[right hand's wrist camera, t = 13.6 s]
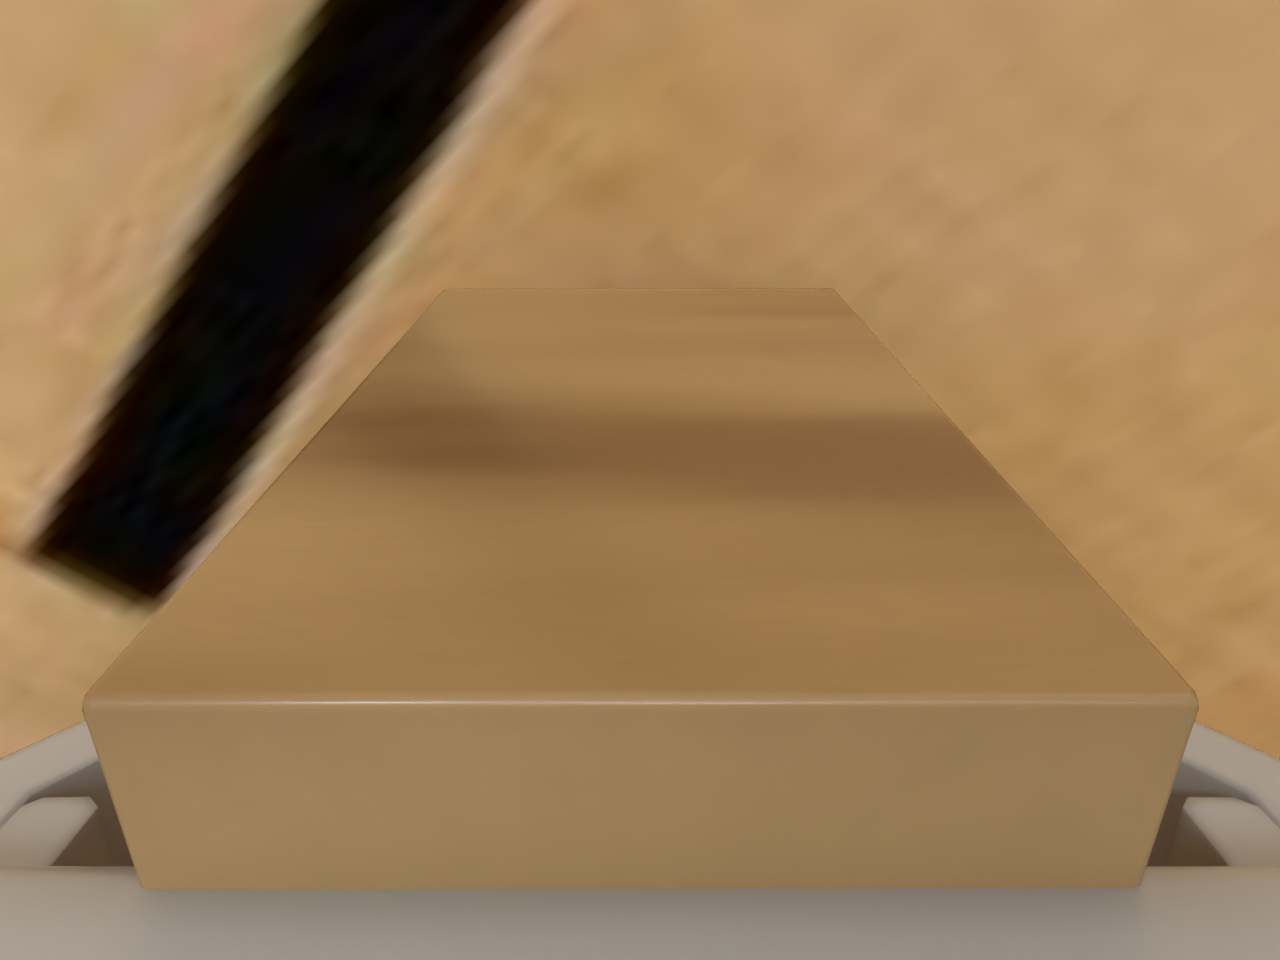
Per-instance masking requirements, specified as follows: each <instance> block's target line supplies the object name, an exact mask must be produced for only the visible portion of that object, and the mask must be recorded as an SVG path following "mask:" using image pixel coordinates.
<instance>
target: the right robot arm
mask: <svg viewBox="0 0 1280 960" xmlns="http://www.w3.org/2000/svg"><path fill="white" fill-rule="evenodd" d="M0 960H1280V759H1278V758H1276V757H1273V756H1271V755H1269V754H1267V753H1265V752H1263V751H1260V750H1258V749H1256V748H1254V747H1252V746H1249V745H1247V744H1245V743H1243V742H1241V741H1239V740H1236V739H1234V738H1232V737H1230V736H1228V735H1225V734H1223V733H1221V732H1219V731H1217V730H1215V729H1212V728H1210V727H1208V726H1206V725H1204V724H1201V723H1199V722H1197V721H1194V724H1193V727H1192V730H1191V733H1190V736H1189V739H1188V742H1187V745H1186V748H1185V751H1184V754H1183V757H1182V760H1181V763H1180V766H1179V769H1178V773H1177V776H1176V779H1175V782H1174V785H1173V788H1172V791H1171V794H1170V797H1169V800H1168V803H1167V806H1166V809H1165V812H1164V815H1163V818H1162V821H1161V824H1160V827H1159V830H1158V833H1157V836H1156V839H1155V842H1154V845H1153V848H1152V851H1151V854H1150V857H1149V860H1148V863H1147V866H1146V869H1145V872H1144V875H1143V878H1142V881H1141V884H1140V885H1138V886H1136V887H1133V888H496V889H147V888H145V887H142V886H141V885H140V882H139V879H138V876H137V873H136V870H135V867H134V864H133V861H132V858H131V855H130V852H129V849H128V846H127V843H126V840H125V837H124V834H123V831H122V828H121V825H120V822H119V819H118V816H117V813H116V810H115V807H114V804H113V801H112V798H111V795H110V792H109V789H108V786H107V783H106V780H105V777H104V774H103V771H102V768H101V765H100V762H99V759H98V756H97V753H96V750H95V747H94V744H93V741H92V738H91V735H90V732H89V729H88V726H87V723H86V720H84V721H82V722H80V723H78V724H76V725H73V726H71V727H69V728H67V729H65V730H63V731H60V732H58V733H56V734H54V735H52V736H49V737H47V738H45V739H43V740H41V741H38V742H36V743H34V744H32V745H30V746H28V747H25V748H23V749H21V750H19V751H17V752H14V753H12V754H10V755H8V756H6V757H3V758H1V759H0Z"/></svg>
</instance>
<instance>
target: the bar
mask: <svg viewBox="0 0 1280 960" xmlns="http://www.w3.org/2000/svg"><path fill="white" fill-rule="evenodd" d="M1198 709H1199V705H1198V698H1197V695H1196V693H1195V691H1194V690H1193V689H1192V688H1191V687H1190V685H1189V684H1188V683H1187V682H1186V681H1185V680H1184V679H1183V678H1182V677H1181V675H1180V674H1179V673H1178V672H1177V671H1176V670H1175V669H1174V668H1173V666H1172V665H1171V664H1170V663H1169V662H1168V661H1167V660H1166V659H1165V658H1164V656H1163V655H1162V654H1161V653H1160V652H1159V651H1158V650H1157V649H1156V648H1155V646H1154V645H1153V644H1152V643H1151V642H1150V641H1149V640H1148V639H1147V638H1146V636H1145V635H1144V634H1143V633H1142V632H1141V631H1140V630H1139V629H1138V628H1137V626H1136V625H1135V624H1134V623H1133V622H1132V621H1131V620H1130V619H1129V618H1128V616H1127V615H1126V614H1125V613H1124V612H1123V611H1122V610H1121V609H1120V608H1119V606H1118V605H1117V604H1116V603H1115V602H1114V601H1113V600H1112V599H1111V598H1110V596H1109V595H1108V594H1107V593H1106V592H1105V591H1104V590H1103V589H1102V588H1101V586H1100V585H1099V584H1098V583H1097V582H1096V581H1095V580H1094V579H1093V577H1092V576H1091V575H1090V574H1089V573H1088V572H1087V571H1086V570H1085V569H1084V567H1083V566H1082V565H1081V564H1080V563H1079V562H1078V561H1077V560H1076V559H1075V557H1074V556H1073V555H1072V554H1071V553H1070V552H1069V551H1068V550H1067V549H1066V547H1065V546H1064V545H1063V544H1062V543H1061V542H1060V541H1059V540H1058V539H1057V537H1056V536H1055V535H1054V534H1053V533H1052V532H1051V531H1050V530H1049V529H1048V527H1047V526H1046V525H1045V524H1044V523H1043V522H1042V521H1041V520H1040V519H1039V517H1038V516H1037V515H1036V514H1035V513H1034V512H1033V511H1032V510H1031V509H1030V507H1029V506H1028V505H1027V504H1026V503H1025V502H1024V501H1023V500H1022V499H1021V497H1020V496H1019V495H1018V494H1017V493H1016V492H1015V491H1014V490H1013V488H1012V487H1011V486H1010V485H1009V484H1008V483H1007V482H1006V481H1005V480H1004V478H1003V477H1002V476H1001V475H1000V474H999V473H998V472H997V471H996V470H995V468H994V467H993V466H992V465H991V464H990V463H989V462H988V461H987V460H986V458H985V457H984V456H983V455H982V454H981V453H980V452H979V451H978V450H977V448H976V447H975V446H974V445H973V444H972V443H971V442H970V441H969V440H968V438H967V437H966V436H965V435H964V434H963V433H962V432H961V431H960V430H959V428H958V427H957V426H956V425H955V424H954V423H953V422H952V421H951V420H950V418H949V417H948V416H947V415H946V414H945V413H944V412H943V411H942V410H941V408H940V407H939V406H938V405H937V404H936V403H935V402H934V401H933V399H932V398H931V397H930V396H929V395H928V394H927V393H926V392H925V391H924V389H923V388H922V387H921V386H920V385H919V384H918V383H917V382H916V381H915V379H914V378H913V377H912V376H911V375H910V374H909V373H908V372H907V371H906V369H905V368H904V367H903V366H902V365H901V364H900V363H899V362H898V361H897V359H896V358H895V357H894V356H893V355H892V354H891V353H890V352H889V351H888V349H887V348H886V347H885V346H884V345H883V344H882V343H881V342H880V341H879V339H878V338H877V337H876V336H875V335H874V334H873V333H872V332H871V331H870V329H869V328H868V327H867V326H866V325H865V324H864V323H863V322H862V321H861V319H860V318H859V317H858V316H857V315H856V314H855V313H854V312H853V310H852V309H851V308H850V307H849V306H848V305H847V304H846V303H845V302H844V300H843V299H842V298H841V297H840V296H839V295H838V294H837V293H836V292H835V290H833V289H831V288H745V289H446V290H444V291H443V292H442V293H441V294H440V295H439V296H438V298H437V299H436V300H435V301H434V302H433V303H432V304H431V305H430V307H429V308H428V309H427V310H426V311H425V312H424V313H423V314H422V316H421V317H420V318H419V319H418V320H417V321H416V322H415V324H414V325H413V326H412V327H411V328H410V329H409V330H408V331H407V333H406V334H405V335H404V336H403V337H402V338H401V339H400V340H399V342H398V343H397V344H396V345H395V346H394V347H393V348H392V349H391V351H390V352H389V353H388V354H387V355H386V356H385V357H384V358H383V360H382V361H381V362H380V363H379V364H378V365H377V366H376V367H375V369H374V370H373V371H372V372H371V373H370V374H369V375H368V376H367V378H366V379H365V380H364V381H363V382H362V383H361V384H360V386H359V387H358V388H357V389H356V390H355V391H354V392H353V393H352V395H351V396H350V397H349V398H348V399H347V400H346V401H345V402H344V404H343V405H342V406H341V407H340V408H339V409H338V410H337V411H336V413H335V414H334V415H333V416H332V417H331V418H330V419H329V420H328V422H327V423H326V424H325V425H324V426H323V427H322V428H321V429H320V431H319V432H318V433H317V434H316V435H315V436H314V437H313V438H312V440H311V441H310V442H309V443H308V444H307V445H306V446H305V448H304V449H303V450H302V451H301V452H300V453H299V454H298V455H297V457H296V458H295V459H294V460H293V461H292V462H291V463H290V464H289V466H288V467H287V468H286V469H285V470H284V471H283V472H282V473H281V475H280V476H279V477H278V478H277V479H276V480H275V481H274V482H273V484H272V485H271V486H270V487H269V488H268V489H267V490H266V491H265V493H264V494H263V495H262V496H261V497H260V498H259V499H258V500H257V502H256V503H255V504H254V505H253V506H252V507H251V508H250V510H249V511H248V512H247V513H246V514H245V515H244V516H243V517H242V519H241V520H240V521H239V522H238V523H237V524H236V525H235V526H234V528H233V529H232V530H231V531H230V532H229V533H228V534H227V535H226V537H225V538H224V539H223V540H222V541H221V542H220V543H219V544H218V546H217V547H216V548H215V549H214V550H213V551H212V552H211V553H210V555H209V556H208V557H207V558H206V559H205V560H204V561H203V562H202V564H201V565H200V566H199V567H198V568H197V569H196V570H195V572H194V573H193V574H192V575H191V576H190V577H189V578H188V579H187V581H186V582H185V583H184V584H183V585H182V586H181V587H180V588H179V590H178V591H177V592H176V593H175V594H174V595H173V596H172V597H171V599H170V600H169V601H168V602H167V603H166V604H165V605H164V606H163V608H162V609H161V610H160V611H159V612H158V613H157V614H156V615H155V617H154V618H153V619H152V620H151V621H150V622H149V623H148V624H147V626H146V627H145V628H144V629H143V630H142V631H141V632H140V634H139V635H138V636H137V637H136V638H135V639H134V640H133V641H132V643H131V644H130V645H129V646H128V647H127V648H126V649H125V650H124V652H123V653H122V654H121V655H120V656H119V657H118V658H117V659H116V661H115V662H114V663H113V664H112V665H111V666H110V667H109V668H108V670H107V671H106V672H105V673H104V674H103V675H102V676H101V677H100V679H99V680H98V681H97V682H96V683H95V684H94V685H93V686H92V688H91V689H90V690H89V691H88V692H87V693H86V695H85V698H84V701H83V709H82V711H83V714H84V717H85V720H86V723H87V726H88V729H89V732H90V735H91V738H92V741H93V744H94V747H95V750H96V753H97V756H98V759H99V762H100V765H101V768H102V771H103V774H104V777H105V780H106V783H107V786H108V789H109V792H110V795H111V798H112V801H113V804H114V807H115V810H116V813H117V816H118V819H119V822H120V825H121V828H122V831H123V834H124V837H125V840H126V843H127V846H128V849H129V852H130V855H131V858H132V861H133V864H134V867H135V870H136V873H137V876H138V879H139V882H140V885H141V886H142V887H145V888H147V889H496V888H1133V887H1136V886H1138V885H1140V884H1141V881H1142V878H1143V875H1144V872H1145V869H1146V866H1147V863H1148V860H1149V857H1150V854H1151V851H1152V848H1153V845H1154V842H1155V839H1156V836H1157V833H1158V830H1159V827H1160V824H1161V821H1162V818H1163V815H1164V812H1165V809H1166V806H1167V803H1168V800H1169V797H1170V794H1171V791H1172V788H1173V785H1174V782H1175V779H1176V776H1177V773H1178V769H1179V766H1180V763H1181V760H1182V757H1183V754H1184V751H1185V748H1186V745H1187V742H1188V739H1189V736H1190V733H1191V730H1192V727H1193V724H1194V721H1195V718H1196V715H1197V712H1198Z"/></svg>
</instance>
